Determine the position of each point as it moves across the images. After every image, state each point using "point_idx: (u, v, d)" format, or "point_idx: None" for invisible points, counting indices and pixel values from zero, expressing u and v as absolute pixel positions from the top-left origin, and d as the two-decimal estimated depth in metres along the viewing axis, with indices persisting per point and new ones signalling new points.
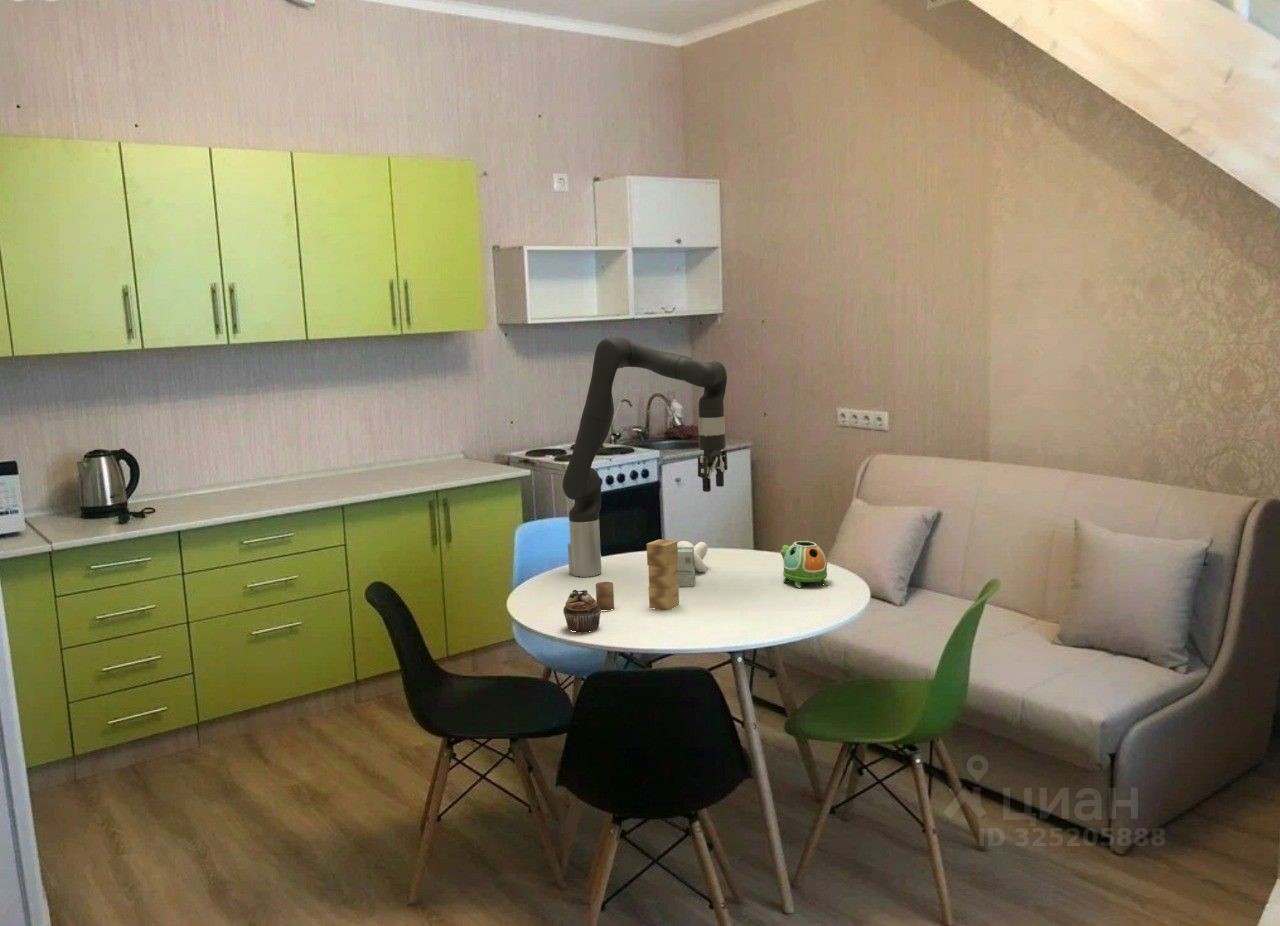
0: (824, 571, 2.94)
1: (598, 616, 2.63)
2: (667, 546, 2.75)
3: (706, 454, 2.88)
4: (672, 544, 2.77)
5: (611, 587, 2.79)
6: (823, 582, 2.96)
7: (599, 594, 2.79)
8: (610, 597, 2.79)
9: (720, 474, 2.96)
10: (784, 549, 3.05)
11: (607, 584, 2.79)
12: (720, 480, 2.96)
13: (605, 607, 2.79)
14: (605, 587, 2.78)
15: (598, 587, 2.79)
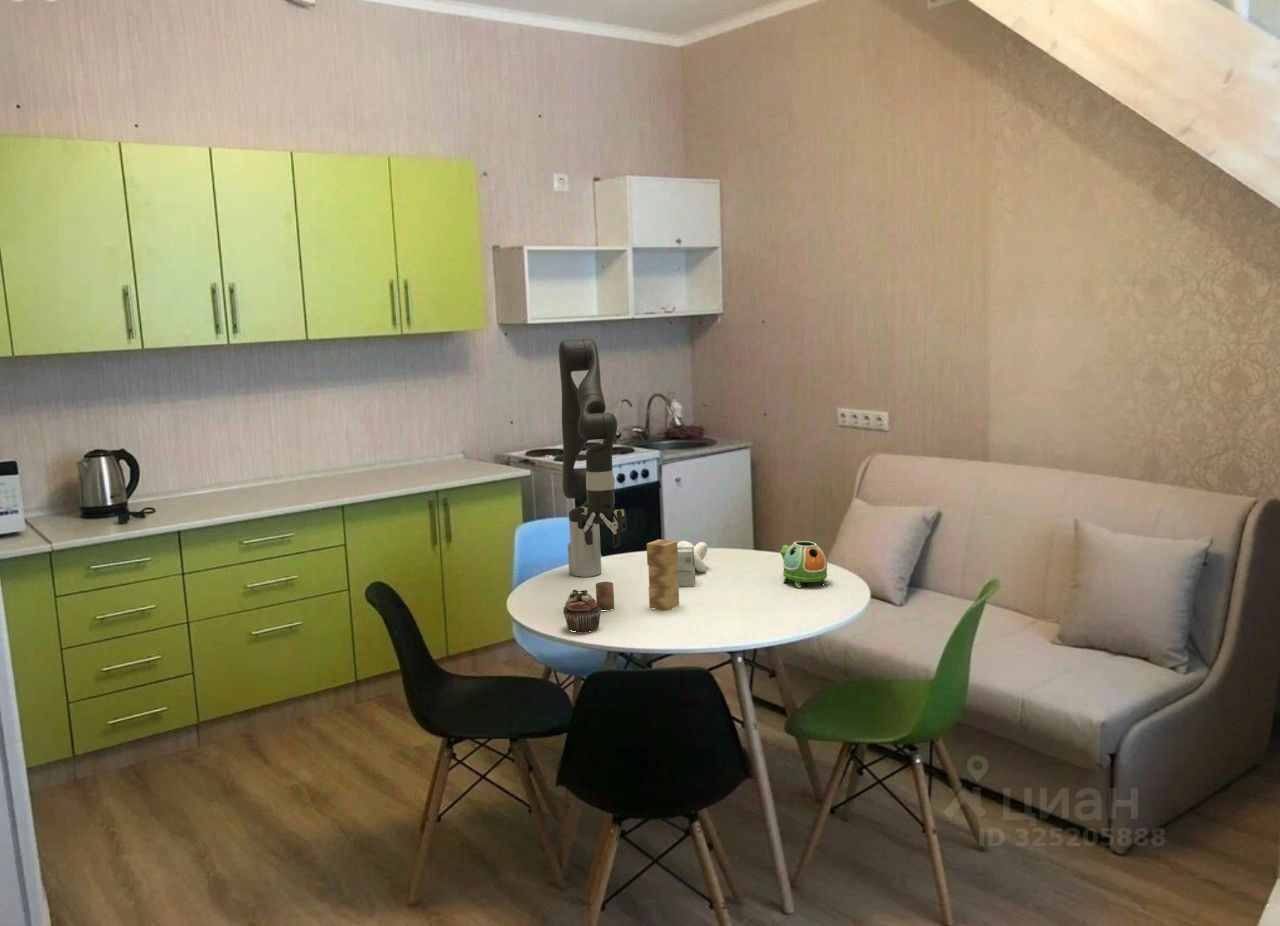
0: (824, 571, 2.94)
1: (598, 616, 2.63)
2: (667, 546, 2.75)
3: (612, 508, 2.75)
4: (672, 544, 2.77)
5: (611, 587, 2.79)
6: (823, 582, 2.96)
7: (599, 594, 2.79)
8: (610, 598, 2.79)
9: (590, 531, 2.80)
10: (784, 549, 3.05)
11: (607, 584, 2.79)
12: (591, 537, 2.81)
13: (605, 607, 2.79)
14: (605, 587, 2.78)
15: (598, 587, 2.79)
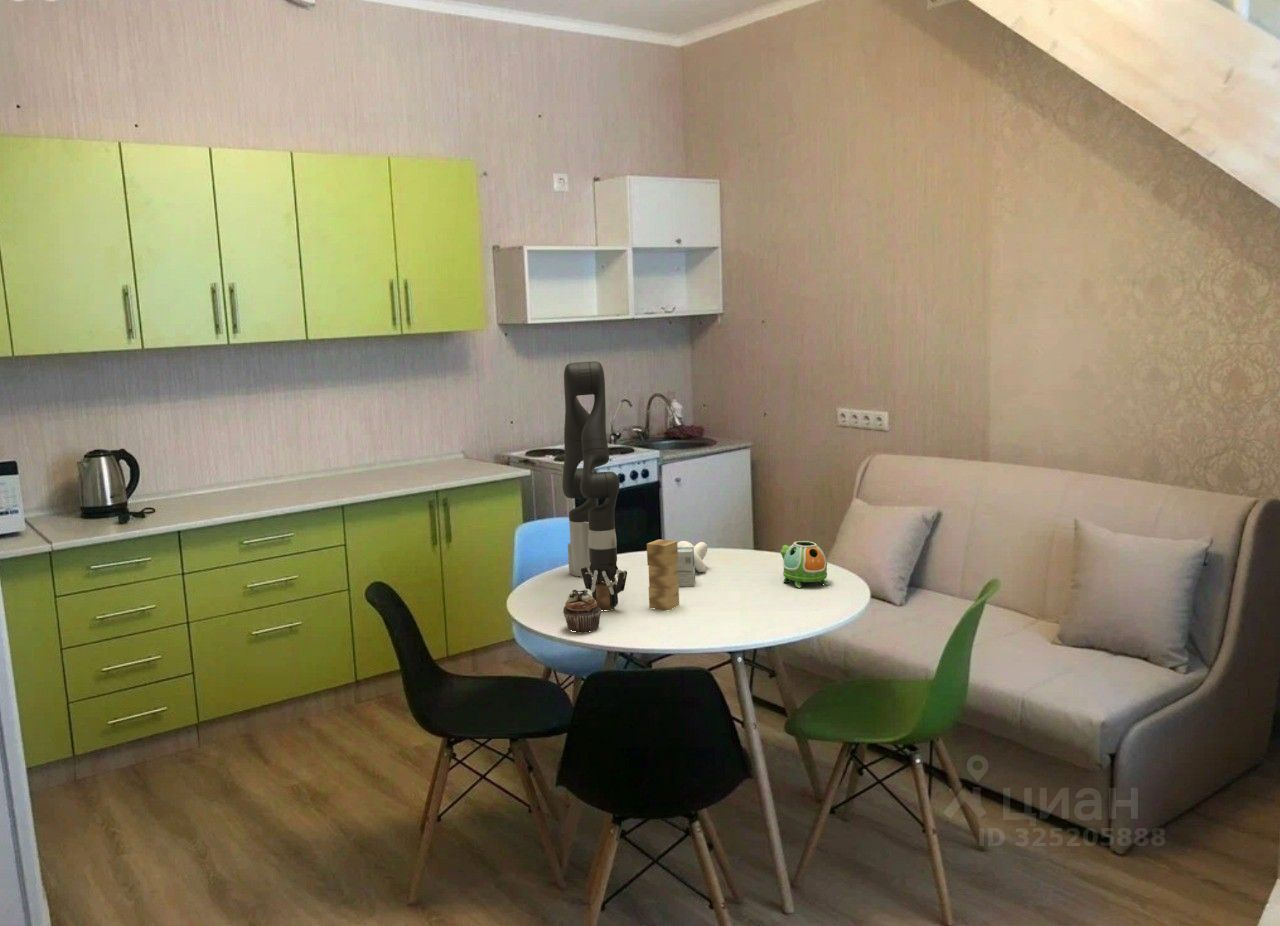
0: (824, 571, 2.94)
1: (598, 616, 2.63)
2: (667, 546, 2.75)
3: (615, 567, 2.77)
4: (672, 544, 2.77)
5: None
6: (823, 582, 2.96)
7: (599, 594, 2.79)
8: None
9: None
10: (784, 549, 3.05)
11: None
12: None
13: (605, 607, 2.79)
14: (604, 587, 2.78)
15: (597, 587, 2.79)
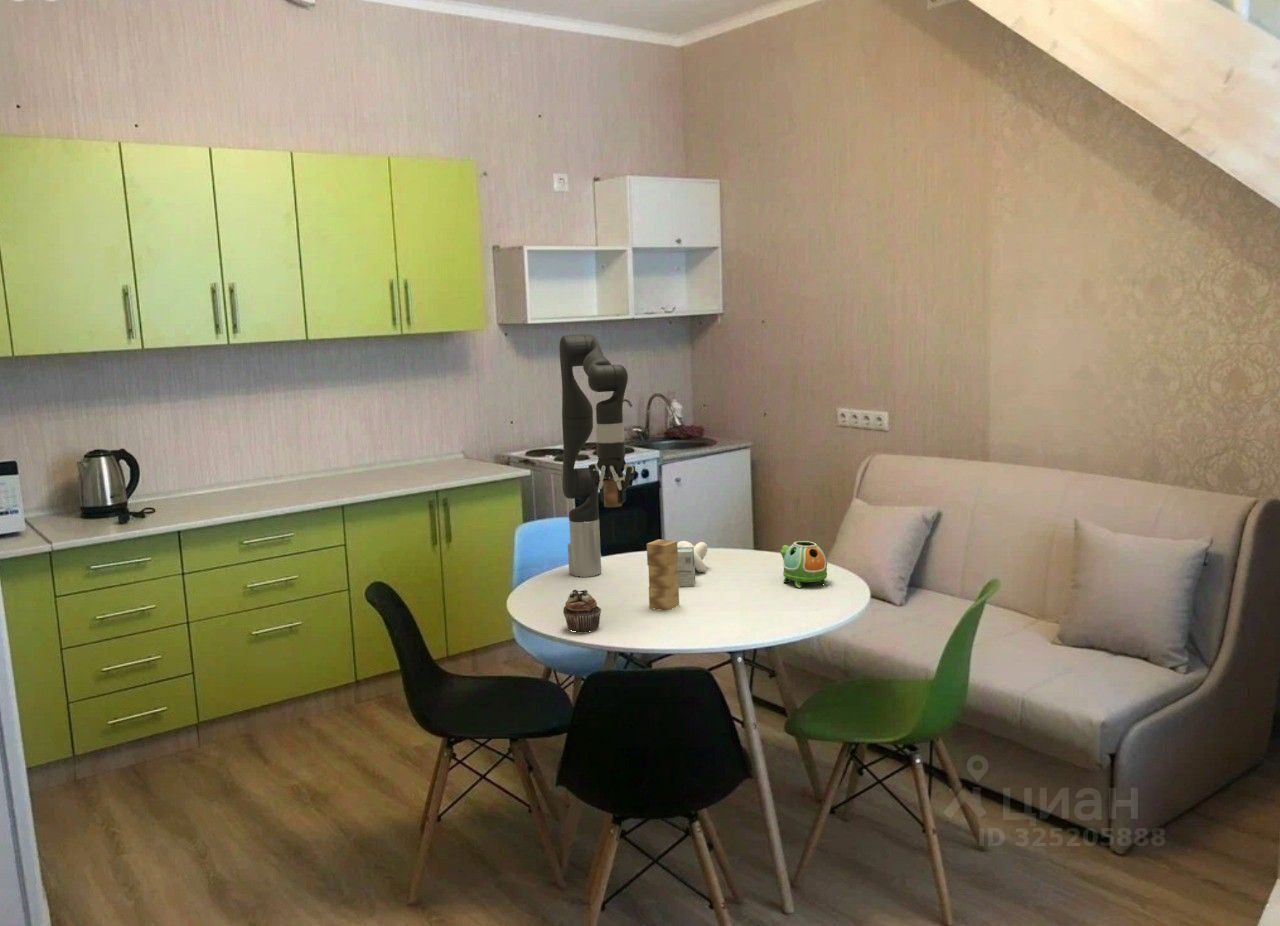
0: (824, 571, 2.95)
1: (598, 616, 2.63)
2: (667, 546, 2.75)
3: (623, 462, 2.73)
4: (672, 544, 2.77)
5: None
6: (823, 582, 2.96)
7: (606, 490, 2.74)
8: None
9: None
10: (784, 549, 3.05)
11: None
12: None
13: (612, 503, 2.74)
14: (612, 483, 2.73)
15: (605, 483, 2.74)
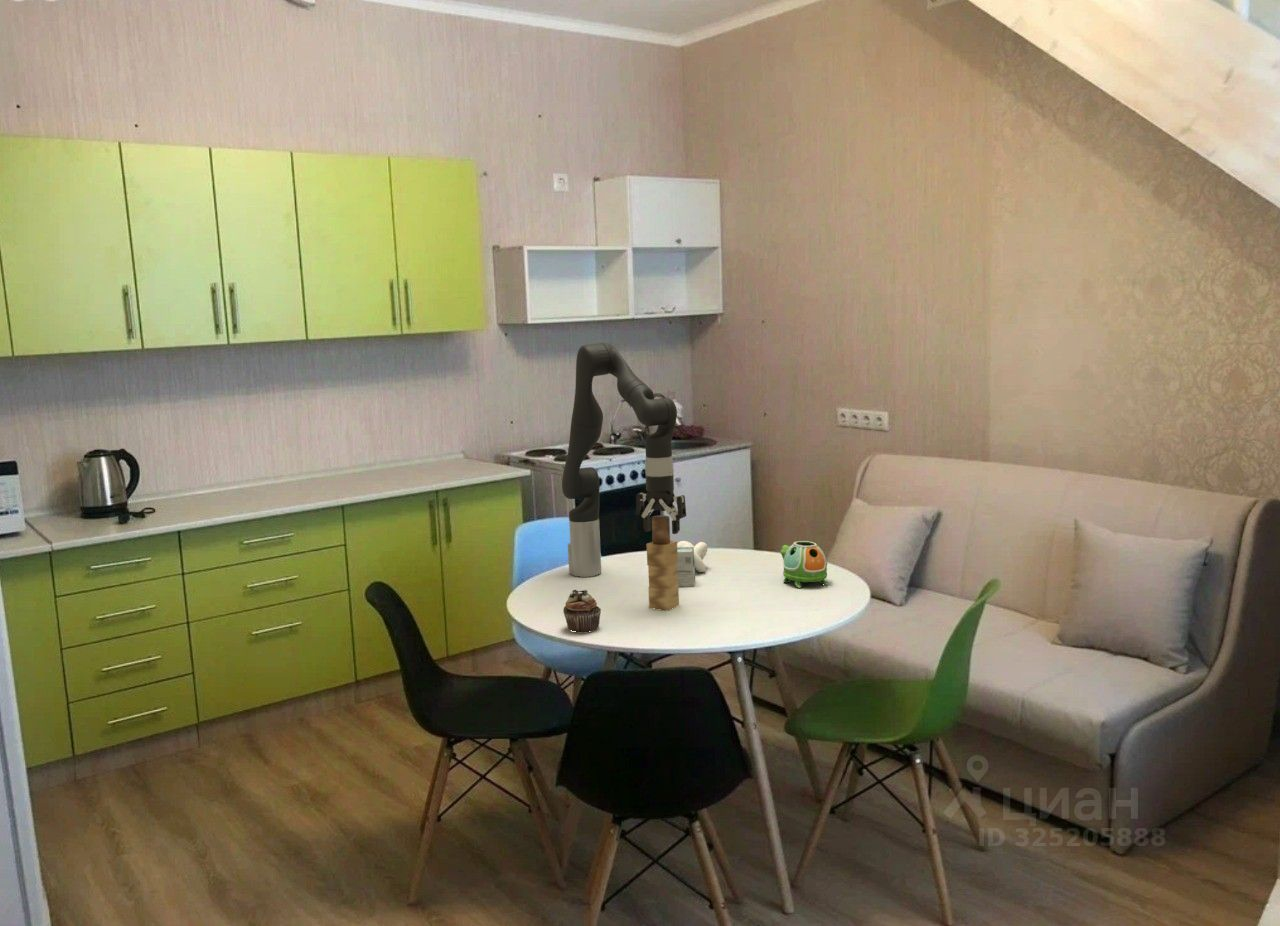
0: (824, 571, 2.95)
1: (598, 616, 2.63)
2: (667, 546, 2.75)
3: (672, 495, 2.74)
4: (672, 544, 2.77)
5: (667, 520, 2.76)
6: (823, 582, 2.96)
7: (655, 527, 2.76)
8: (667, 531, 2.76)
9: (649, 518, 2.80)
10: (784, 549, 3.05)
11: (663, 517, 2.76)
12: (649, 524, 2.80)
13: (661, 541, 2.76)
14: (661, 520, 2.75)
15: (654, 520, 2.76)
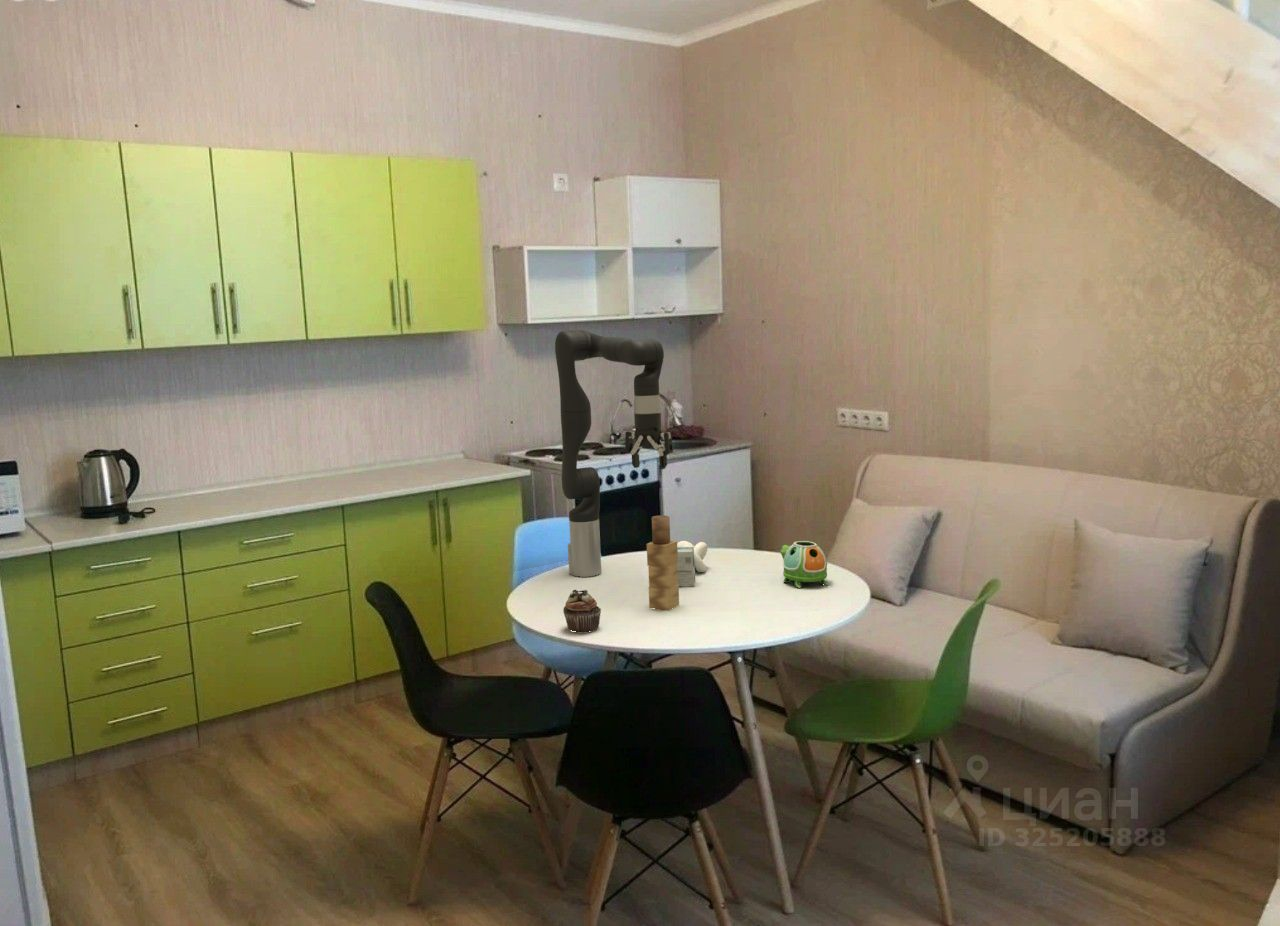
0: (824, 571, 2.94)
1: (598, 616, 2.63)
2: (667, 546, 2.75)
3: (659, 431, 2.88)
4: (672, 544, 2.77)
5: (668, 520, 2.76)
6: (823, 582, 2.96)
7: (655, 527, 2.76)
8: (667, 531, 2.76)
9: (637, 455, 2.93)
10: (784, 549, 3.05)
11: (663, 517, 2.76)
12: (638, 461, 2.93)
13: (661, 541, 2.76)
14: (661, 520, 2.75)
15: (654, 520, 2.76)
